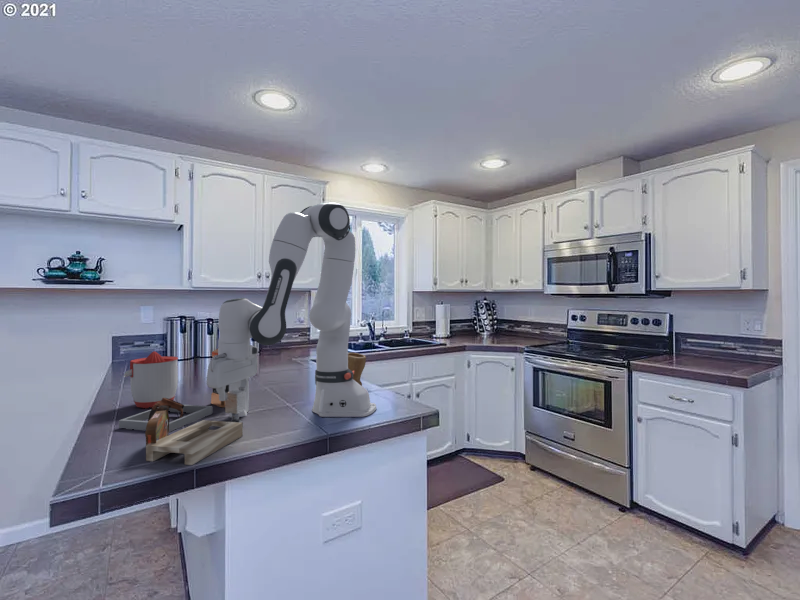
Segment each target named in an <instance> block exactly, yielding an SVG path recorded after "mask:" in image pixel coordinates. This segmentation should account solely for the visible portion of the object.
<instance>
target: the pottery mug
mask: <svg viewBox="0 0 800 600" xmlns="http://www.w3.org/2000/svg"><path fill="white" fill-rule="evenodd" d="M184 405H185V404H183V403H180V402H178V401H176V400H171V399H168V398H162V400H161V401H159V402H157V403H156V404H155V405H154V406H153V407H151V409H150V410H151V411H150V414H149V418H148V419H147V421H149V420H150V418H151V417H152V416H153V415H154V413H155V412H157V411H164V410H167V411H169V408H174V409H177V410H178V411H180V412H179V413H180V415H179V418H182V417H184V413H183V407H184Z"/></svg>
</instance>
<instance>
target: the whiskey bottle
mask: <svg viewBox="0 0 800 600" xmlns="http://www.w3.org/2000/svg"><path fill="white" fill-rule="evenodd" d="M215 355H218V348H216V349H215V350H212V351H211V357H212V358H213V357H214V356H215ZM213 360H214V359H213ZM224 390H225V393H227V392H229V385H226V389H224ZM210 399H211V400H210V403H211V404H212V405H214V406H215V407H216V406H217V407H219V408H225V401H220V400H219V394H218V392H217V390H216V388H212V392H211V396H210Z"/></svg>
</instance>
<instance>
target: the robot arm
mask: <svg viewBox="0 0 800 600" xmlns="http://www.w3.org/2000/svg"><path fill="white" fill-rule="evenodd" d="M350 220H351V219H350V215H349V212H348V210H347V209H346V207H345V206H343V205H342V204H340V203H337V202H324V203H317V204H315V205H310V206H307V207H305V208H304V209H302V210H301V211H300V212H288V213H286V214H285V215H284V216H283V217H282V220H281V221H280V223H279V225H278V227H277V228H276V231H275V233H274V236H273V239H272V243H271V246H270V249H269V256H268V264H269V267H270V271H271V276H270V282H269V287H268V290H267V293H266V296H265V299H264V303H263V305H262V306H260V305H258V304H256V303H253V302H252V301H250V300H249V299H248V298H247V297H246V298H245V297H240V298H238V297H236V298H232V299H231V298H230V299H228V300H225V301H224V302H222V304H220V307H219V313H218V330H219V338H218V341H217V346H218V348H217V349H218V355H215V356H214V357H212V358H211V360H210V361H209V364H208V366H207V367H208V369H207V373H206V386H207V387H208V389H213V388H216V390H217V392H218V394H219V400H220V401H225V400H227V396H228V394H226V393H225V390H224V389H226V385H229V384H232V383H235V382H238V381H241V385H240V387H239V390H242V391H245V392H246V387H247V384H248V382H249V381H250V378H252V377H254V376H256V375H257V372H258V360H259V359H258V354H259V347H258V346H255V345H252V344H250V343H251V338H252V339H253V340H254V341H255V342H256V343H258V344H260V345H263V346H271V345H272V346H273V345H275V344H277V343H279V342H280V341H282V340H283V338H284V337H285V335H286V332H287V321H286V309H287V305H288V302H289V298H290V295H291V291H292V288H293V285H294V282H295V280H296V277H297V276H298V273H299V271H300V270H301V267H302V265H303V263H304V262H305V258H306V256H307V253H308V249H309V246H310V242H312V239H313V238H322V241H323V244H324V251H323V256H322V263H321V272H320V279H319V283H318V287H317V291H316V292H315V296H314V300H313V304H312V307H311V309H310V311H309V314H308V318H309V322H310V324H311V325H312V326H313V327H314V328H315V329H316V330H317V331H318V330H319V335H318V340H317V344H316V348H315V351H316V352H315V353H316V355H315V356H316V358H315V359H316V360H315V361H316V362H315V363H316V364H315V365H316V366H315V368H316V369H315V370H314V371H315V372H314V374H315V375H314V385H315V394H314V400H313V406H312V409H311V411H312V412H313V413H315V414H317V415H318V416H319V417H321V418H322V417H323V418H326V417H327V418H328V417H329V418H330V417H331V418H333V417H335V418H348V417H349V418H352V417H353V418H354V417H355V418H357V417H358V418H361V417H363V418H364V417H367V416H370V415H372V414H373V413H374V412H375V411H376V409H377V404H376V403H375V402H371V398H370V394H369V391H368V390H367V389H366V388H365V387H364V386H363V385H362V386H361V385H360V384H358V383H357V382H356V381H355V380H353V374H354V371H351V370H350V369H349V368H348V353H349V339H350V332H351V331H350V330H351V319H352V309H351V308H350V306H349V304H348V303H347V299H348V296H349V292H350V290H351V287H352V284H353V277H354V269H355V268H354V267H355V262H356V261H355V259H356V239H355V238H356V237H355V235H354V233H353V232H351V225H350V224H351V221H350ZM213 359H214V360H213ZM249 383H250V382H249Z"/></svg>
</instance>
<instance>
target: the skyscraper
mask: <svg viewBox="0 0 800 600" xmlns="http://www.w3.org/2000/svg"><path fill="white" fill-rule="evenodd" d="M249 383H250V382H248V384H247V387H246V392H245V410H244V411H242V412H240V413H239V418H240V417H247V416H248V415H247V414H248V413H249V411H250V410H249V409H250V407H249V406H250V387H249ZM240 385H241V381H238V382H235V383H232V384H229V392H230V391H232V390H239V387H240ZM247 412H248V413H247ZM229 418H232V413H229Z"/></svg>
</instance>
